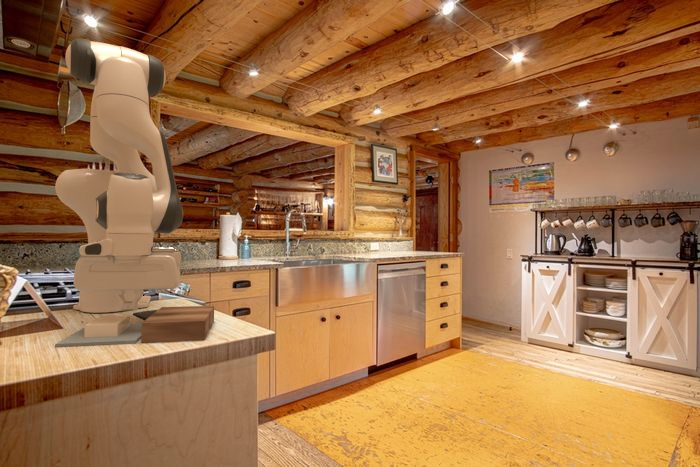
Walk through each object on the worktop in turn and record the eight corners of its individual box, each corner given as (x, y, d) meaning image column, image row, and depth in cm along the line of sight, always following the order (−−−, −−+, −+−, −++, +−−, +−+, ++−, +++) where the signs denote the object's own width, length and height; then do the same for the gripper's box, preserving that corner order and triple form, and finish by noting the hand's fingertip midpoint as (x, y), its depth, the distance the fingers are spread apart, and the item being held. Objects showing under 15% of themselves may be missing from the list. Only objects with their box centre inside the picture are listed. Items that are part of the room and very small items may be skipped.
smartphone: (159, 309, 106) (183, 316, 96) (159, 312, 106) (183, 320, 96) (131, 312, 101) (153, 321, 91) (131, 316, 101) (153, 325, 91)
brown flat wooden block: (161, 323, 91) (161, 307, 91) (213, 321, 94) (214, 305, 94) (141, 343, 76) (141, 323, 76) (204, 340, 79) (205, 320, 78)
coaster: (130, 315, 86) (129, 326, 86) (100, 316, 84) (100, 327, 84) (117, 324, 78) (117, 336, 78) (84, 325, 77) (84, 337, 77)
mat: (89, 327, 87) (89, 324, 87) (155, 324, 90) (155, 322, 90) (55, 347, 72) (55, 344, 72) (135, 343, 76) (135, 340, 76)
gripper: (184, 246, 88) (183, 305, 88) (84, 245, 83) (83, 308, 83) (178, 247, 82) (177, 311, 82) (70, 247, 77) (69, 314, 77)
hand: (129, 310), depth 82 cm, fingers closed
